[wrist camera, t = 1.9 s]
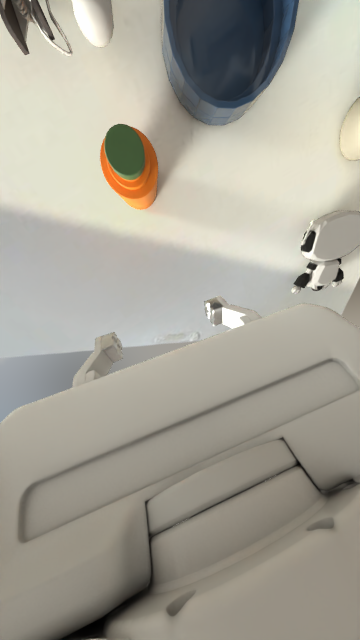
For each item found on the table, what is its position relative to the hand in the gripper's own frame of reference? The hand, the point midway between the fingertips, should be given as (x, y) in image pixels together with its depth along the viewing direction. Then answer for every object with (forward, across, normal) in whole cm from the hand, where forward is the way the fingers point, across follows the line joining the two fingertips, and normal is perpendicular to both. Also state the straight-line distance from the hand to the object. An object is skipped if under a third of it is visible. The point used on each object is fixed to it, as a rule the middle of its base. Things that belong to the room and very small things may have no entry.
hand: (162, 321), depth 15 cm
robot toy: (+15, -35, +9) cm, 39 cm away
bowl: (+24, -18, -19) cm, 35 cm away
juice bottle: (+23, -4, -8) cm, 24 cm away
